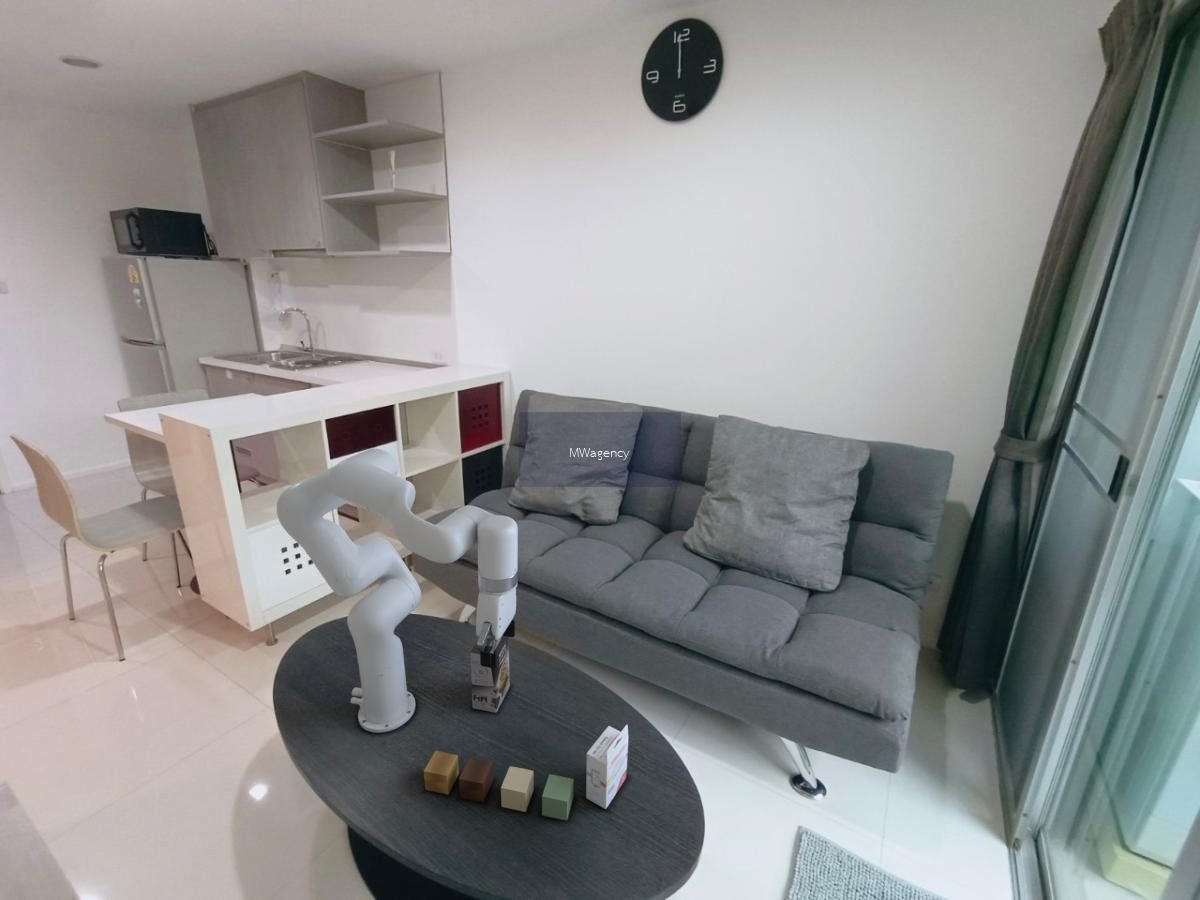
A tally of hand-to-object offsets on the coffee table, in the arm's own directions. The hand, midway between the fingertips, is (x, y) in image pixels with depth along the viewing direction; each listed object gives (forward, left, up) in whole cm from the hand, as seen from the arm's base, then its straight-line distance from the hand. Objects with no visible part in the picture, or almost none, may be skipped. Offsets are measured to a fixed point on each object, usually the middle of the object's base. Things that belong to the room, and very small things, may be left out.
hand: (498, 650), depth 112 cm
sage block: (+16, -11, -26) cm, 32 cm away
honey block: (-9, -11, -26) cm, 29 cm away
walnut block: (-1, -11, -26) cm, 28 cm away
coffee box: (-8, +13, -26) cm, 30 cm away
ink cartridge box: (+24, -5, -26) cm, 36 cm away
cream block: (+7, -11, -26) cm, 29 cm away
